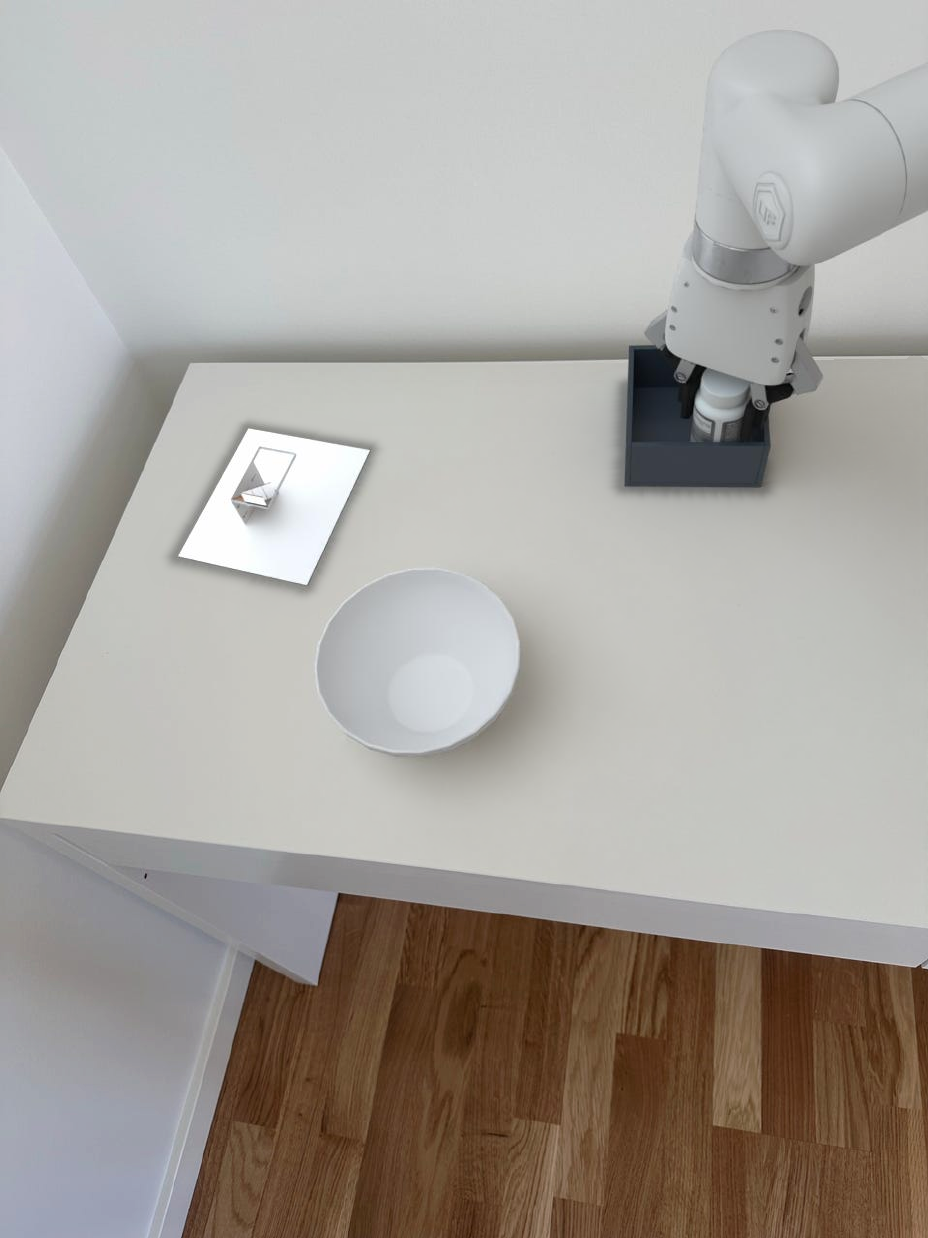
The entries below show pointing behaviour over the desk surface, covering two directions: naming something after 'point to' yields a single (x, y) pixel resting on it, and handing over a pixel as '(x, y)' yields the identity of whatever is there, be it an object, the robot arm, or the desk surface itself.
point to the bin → (679, 435)
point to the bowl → (418, 662)
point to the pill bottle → (719, 407)
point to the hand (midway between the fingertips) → (721, 416)
